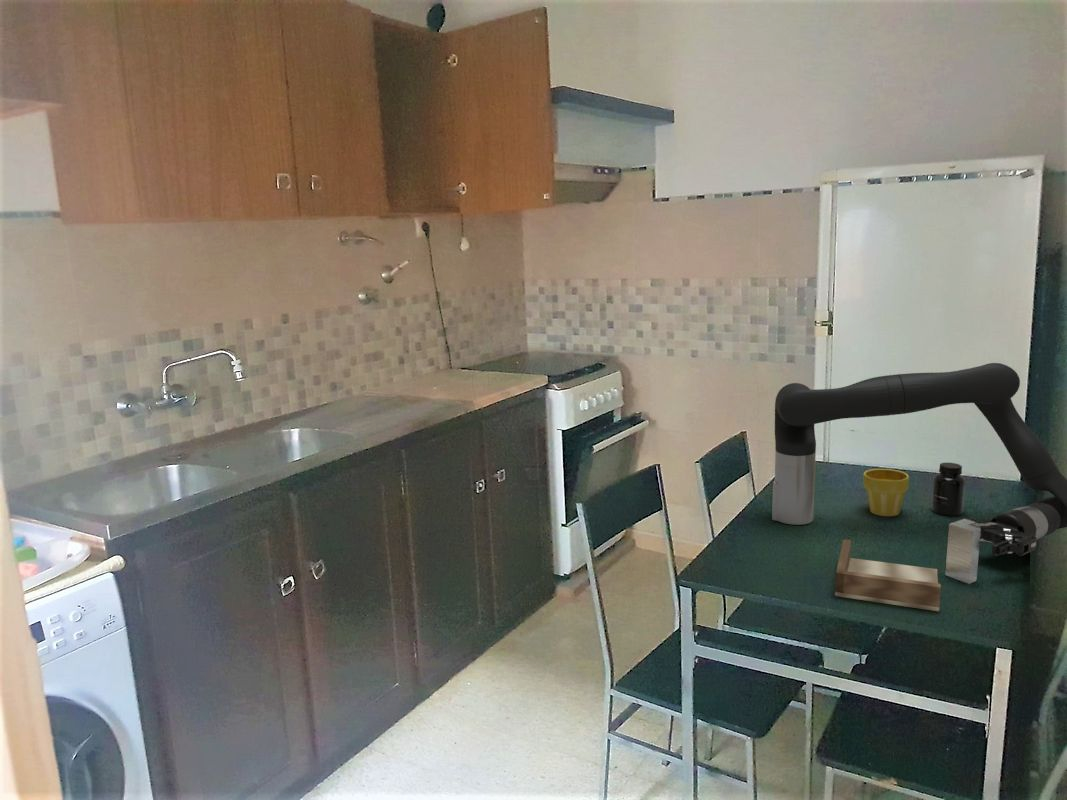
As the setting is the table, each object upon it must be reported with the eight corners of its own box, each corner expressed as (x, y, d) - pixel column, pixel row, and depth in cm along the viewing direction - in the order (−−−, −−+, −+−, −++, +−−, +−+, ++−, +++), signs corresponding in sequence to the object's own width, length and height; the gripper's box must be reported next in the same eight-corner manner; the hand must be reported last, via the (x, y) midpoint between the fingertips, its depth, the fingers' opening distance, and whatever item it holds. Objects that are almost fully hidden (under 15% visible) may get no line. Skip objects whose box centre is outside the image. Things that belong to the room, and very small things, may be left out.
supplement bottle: (932, 515, 194) (935, 467, 191) (930, 506, 200) (933, 460, 197) (964, 518, 191) (968, 470, 189) (961, 508, 197) (964, 462, 195)
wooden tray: (834, 595, 154) (836, 572, 153) (842, 560, 170) (843, 539, 169) (939, 611, 146) (940, 587, 145) (936, 572, 162) (938, 550, 161)
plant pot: (852, 509, 200) (854, 471, 198) (883, 502, 204) (886, 465, 202) (884, 522, 190) (886, 483, 188) (916, 515, 194) (919, 476, 192)
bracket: (945, 575, 161) (949, 523, 159) (960, 569, 164) (964, 518, 161) (969, 584, 157) (973, 531, 155) (984, 577, 159) (988, 525, 157)
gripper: (987, 500, 173) (941, 516, 165) (1056, 520, 161) (1010, 537, 153) (984, 533, 175) (938, 550, 167) (1052, 554, 163) (1007, 573, 155)
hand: (973, 543), depth 160 cm, fingers open, 8 cm apart
